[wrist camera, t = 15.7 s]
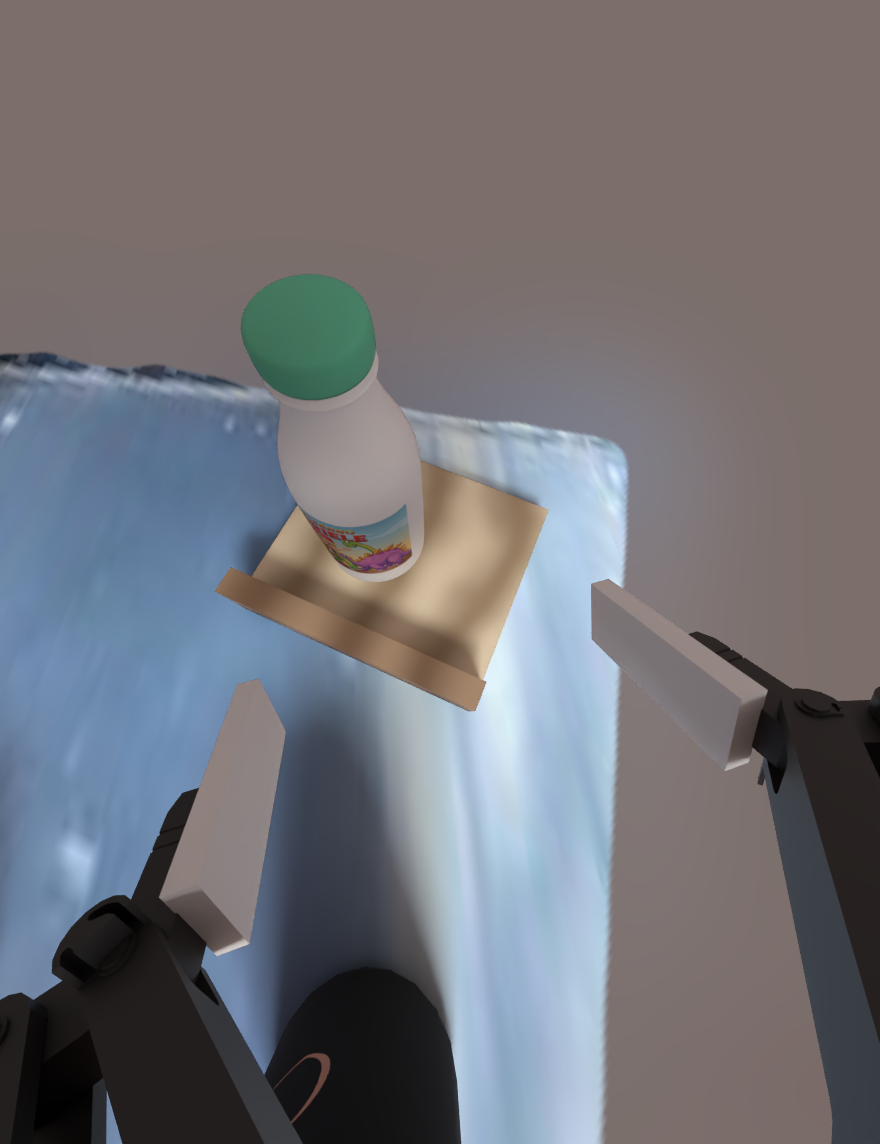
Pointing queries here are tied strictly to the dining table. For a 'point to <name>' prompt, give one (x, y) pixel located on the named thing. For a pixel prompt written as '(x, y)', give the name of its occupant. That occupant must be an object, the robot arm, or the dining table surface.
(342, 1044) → the coffee jar
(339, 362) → the milk bottle
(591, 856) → the dining table surface
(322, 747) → the dining table surface
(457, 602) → the light wooden flat tray
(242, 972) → the dining table surface
